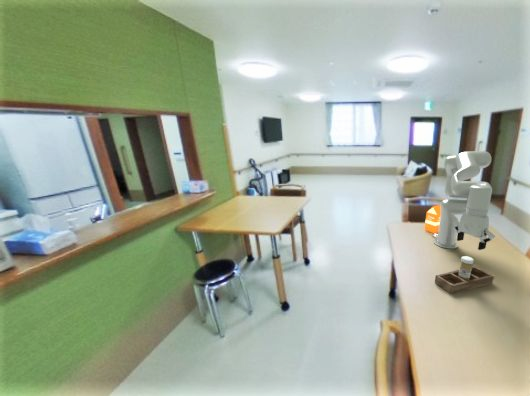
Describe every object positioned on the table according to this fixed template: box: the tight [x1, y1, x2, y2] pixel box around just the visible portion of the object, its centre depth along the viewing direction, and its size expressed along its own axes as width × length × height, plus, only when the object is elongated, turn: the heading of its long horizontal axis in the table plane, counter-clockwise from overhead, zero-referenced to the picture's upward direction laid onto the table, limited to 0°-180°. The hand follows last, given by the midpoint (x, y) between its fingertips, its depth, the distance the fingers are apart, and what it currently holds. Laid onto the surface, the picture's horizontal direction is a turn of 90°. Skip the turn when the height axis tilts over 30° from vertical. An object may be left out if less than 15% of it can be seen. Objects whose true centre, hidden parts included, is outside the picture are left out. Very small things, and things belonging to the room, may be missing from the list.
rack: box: [434, 265, 495, 295], centre depth 117 cm, size 9×25×4 cm, turn 103°
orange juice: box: [424, 204, 441, 234], centre depth 173 cm, size 8×9×20 cm
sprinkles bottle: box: [458, 255, 474, 281], centre depth 115 cm, size 5×5×14 cm
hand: (470, 244), depth 111 cm, fingers open, 9 cm apart
